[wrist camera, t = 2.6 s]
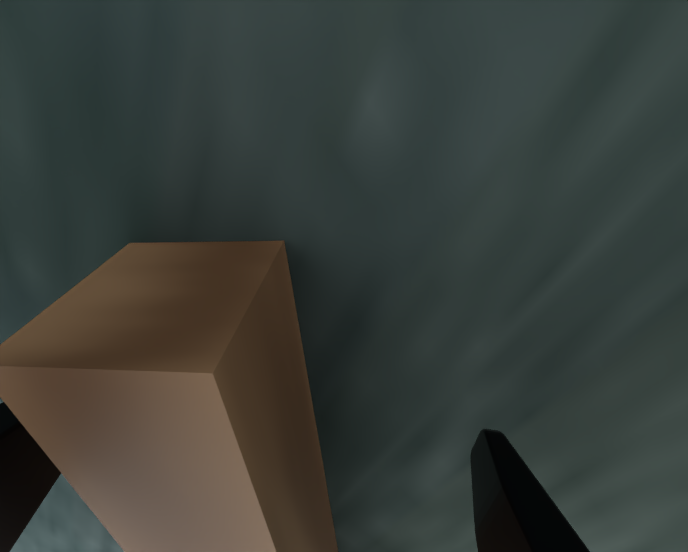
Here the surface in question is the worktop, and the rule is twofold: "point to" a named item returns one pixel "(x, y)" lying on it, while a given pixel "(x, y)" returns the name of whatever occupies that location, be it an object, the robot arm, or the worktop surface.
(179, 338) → the walnut bar
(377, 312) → the worktop surface
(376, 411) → the worktop surface
